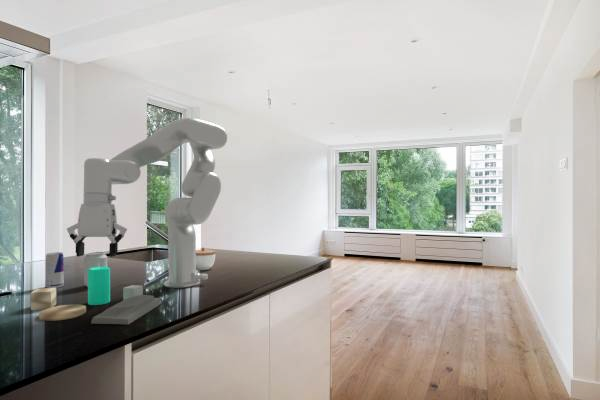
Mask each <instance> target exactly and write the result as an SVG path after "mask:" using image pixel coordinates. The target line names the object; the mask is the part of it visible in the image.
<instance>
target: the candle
mask: <svg viewBox="0 0 600 400" xmlns="http://www.w3.org/2000/svg"><path fill="white" fill-rule="evenodd" d="M110 302H111V267H108V266H107V267H105V266H101V267H93V268H90V269H88V287H87V304H88V305H89V306H98V305H105V304H108V303H110Z"/></svg>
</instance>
